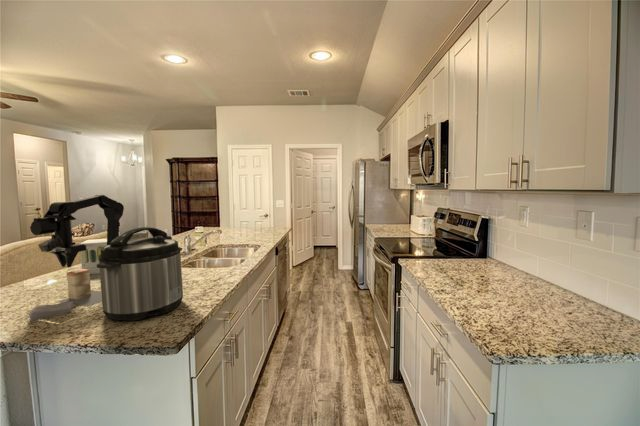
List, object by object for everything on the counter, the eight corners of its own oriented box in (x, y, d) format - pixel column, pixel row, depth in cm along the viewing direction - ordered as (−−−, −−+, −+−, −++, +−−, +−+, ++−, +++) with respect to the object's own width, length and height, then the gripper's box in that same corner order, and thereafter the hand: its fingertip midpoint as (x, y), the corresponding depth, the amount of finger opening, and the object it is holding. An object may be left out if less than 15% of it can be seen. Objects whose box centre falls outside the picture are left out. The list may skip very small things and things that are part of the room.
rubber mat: (92, 291, 139) (91, 290, 139) (121, 295, 134) (121, 294, 134) (57, 302, 126) (57, 301, 126) (88, 307, 120) (88, 306, 120)
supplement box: (81, 275, 165) (78, 243, 164) (89, 269, 177) (87, 239, 176) (110, 272, 170) (108, 241, 168) (116, 266, 182) (114, 237, 181)
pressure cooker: (173, 290, 140) (169, 221, 137) (198, 307, 119) (193, 226, 116) (92, 308, 119) (85, 228, 116) (105, 333, 99) (97, 237, 96)
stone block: (37, 317, 117) (27, 322, 108) (37, 304, 117) (27, 308, 109) (76, 312, 122) (70, 316, 114) (76, 300, 123) (70, 303, 114)
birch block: (83, 293, 135) (81, 268, 134) (91, 294, 134) (89, 269, 133) (68, 298, 130) (66, 272, 128) (76, 299, 128) (74, 273, 127)
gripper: (26, 233, 127) (30, 270, 128) (56, 235, 121) (60, 273, 122) (56, 229, 137) (59, 263, 139) (85, 231, 131) (89, 266, 133)
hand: (66, 267), depth 133 cm, fingers open, 3 cm apart
